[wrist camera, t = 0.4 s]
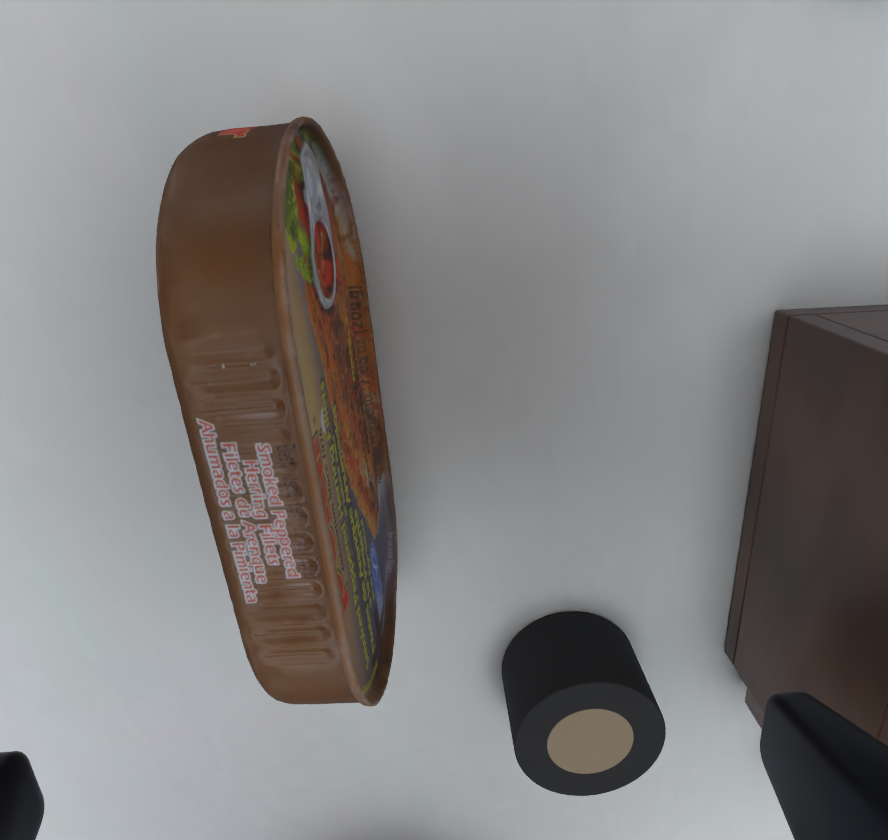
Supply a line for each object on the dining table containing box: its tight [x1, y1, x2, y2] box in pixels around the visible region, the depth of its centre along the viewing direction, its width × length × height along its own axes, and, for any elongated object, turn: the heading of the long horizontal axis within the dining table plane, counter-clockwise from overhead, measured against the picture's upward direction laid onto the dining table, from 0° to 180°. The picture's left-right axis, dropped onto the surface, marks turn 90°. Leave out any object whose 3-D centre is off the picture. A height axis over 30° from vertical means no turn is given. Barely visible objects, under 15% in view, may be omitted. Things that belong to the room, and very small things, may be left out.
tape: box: [502, 612, 665, 796], centre depth 23 cm, size 5×5×4 cm
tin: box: [156, 117, 397, 706], centre depth 17 cm, size 15×3×8 cm, turn 5°
